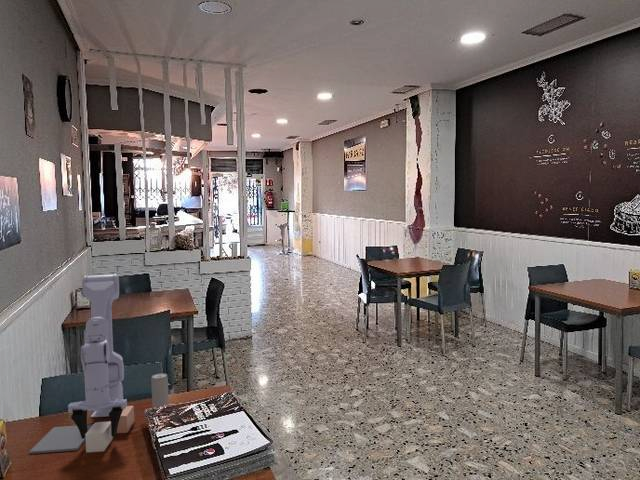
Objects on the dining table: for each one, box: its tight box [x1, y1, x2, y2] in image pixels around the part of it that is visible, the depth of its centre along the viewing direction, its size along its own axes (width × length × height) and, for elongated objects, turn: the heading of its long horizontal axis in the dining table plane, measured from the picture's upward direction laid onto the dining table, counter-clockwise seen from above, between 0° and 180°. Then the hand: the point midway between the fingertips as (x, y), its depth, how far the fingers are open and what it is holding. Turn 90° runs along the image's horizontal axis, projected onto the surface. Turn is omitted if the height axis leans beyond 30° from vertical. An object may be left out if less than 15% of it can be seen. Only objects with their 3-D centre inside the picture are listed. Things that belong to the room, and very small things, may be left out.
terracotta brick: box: [116, 405, 135, 434], centre depth 135 cm, size 7×4×5 cm, turn 6°
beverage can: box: [150, 372, 170, 409], centre depth 144 cm, size 5×5×12 cm
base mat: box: [28, 424, 93, 455], centre depth 129 cm, size 14×12×1 cm
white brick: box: [85, 420, 114, 453], centre depth 125 cm, size 7×4×5 cm, turn 6°
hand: (99, 435), depth 125 cm, fingers open, 7 cm apart
